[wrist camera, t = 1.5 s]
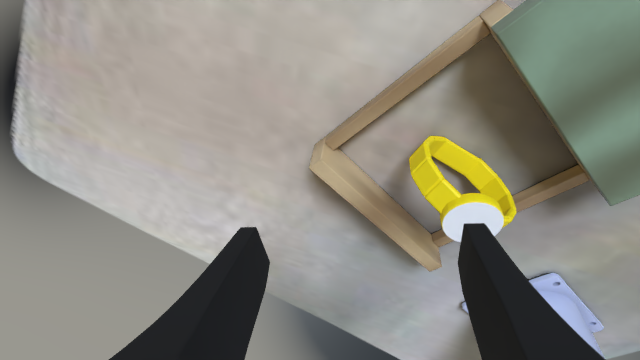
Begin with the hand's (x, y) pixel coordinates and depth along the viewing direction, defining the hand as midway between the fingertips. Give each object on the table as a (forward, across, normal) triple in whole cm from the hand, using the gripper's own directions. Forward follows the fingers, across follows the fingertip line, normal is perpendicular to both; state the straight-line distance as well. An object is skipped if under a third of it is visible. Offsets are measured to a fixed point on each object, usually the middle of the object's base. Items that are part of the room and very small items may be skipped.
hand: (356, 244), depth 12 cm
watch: (+10, -5, +3) cm, 12 cm away
